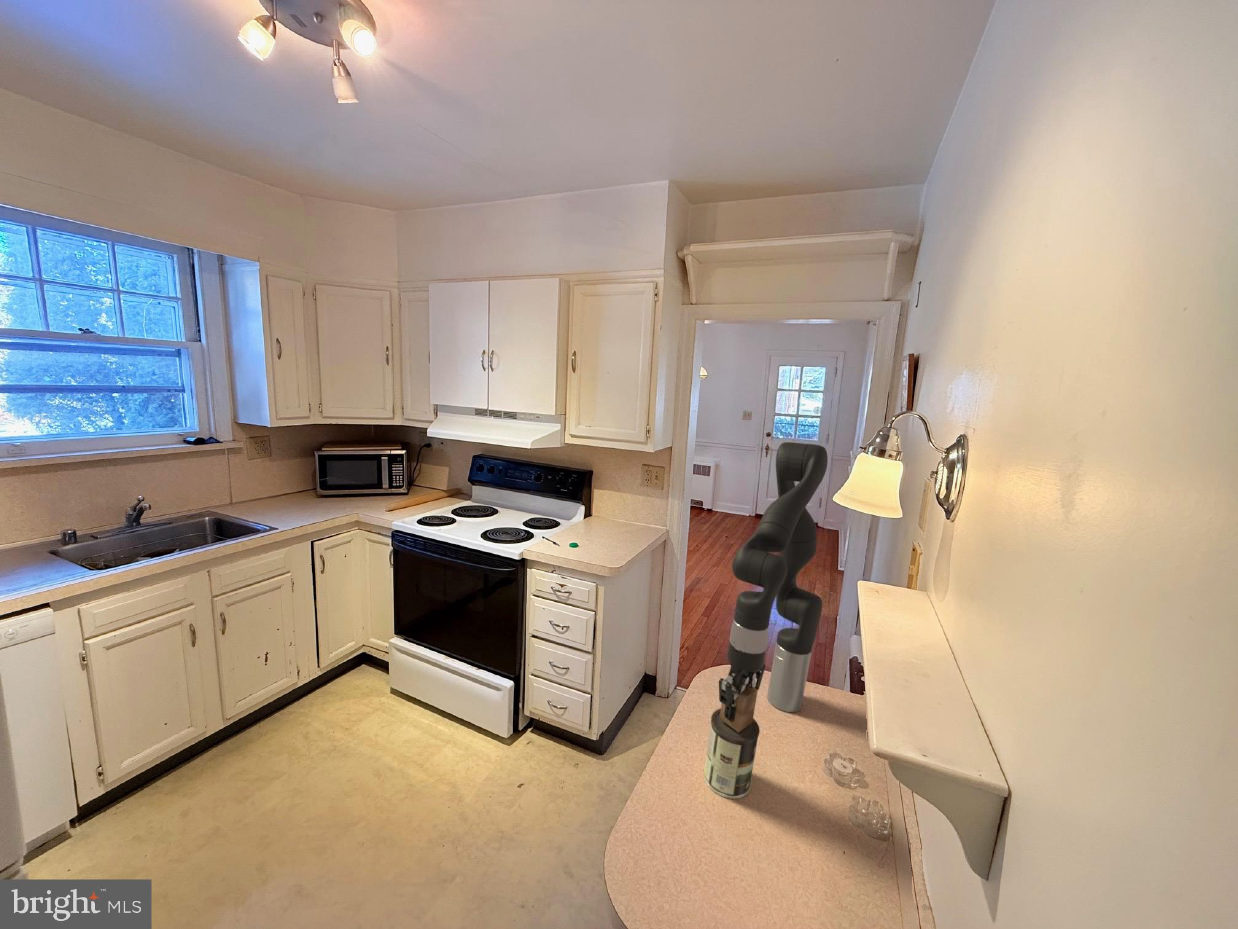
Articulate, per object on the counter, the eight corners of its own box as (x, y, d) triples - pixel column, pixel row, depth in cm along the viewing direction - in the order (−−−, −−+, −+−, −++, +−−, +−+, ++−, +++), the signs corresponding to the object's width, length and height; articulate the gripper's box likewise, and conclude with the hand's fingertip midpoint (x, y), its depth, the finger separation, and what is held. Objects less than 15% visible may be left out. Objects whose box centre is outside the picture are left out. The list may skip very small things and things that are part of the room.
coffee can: (744, 763, 113) (753, 709, 110) (755, 801, 103) (765, 743, 100) (699, 759, 113) (707, 704, 110) (706, 796, 103) (715, 738, 100)
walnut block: (733, 709, 109) (738, 677, 107) (752, 723, 105) (757, 689, 103) (719, 718, 105) (724, 685, 104) (738, 732, 102) (744, 698, 100)
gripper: (752, 625, 109) (741, 692, 112) (712, 643, 100) (701, 717, 103) (782, 640, 104) (770, 711, 107) (742, 661, 94) (730, 738, 97)
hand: (736, 713), depth 105 cm, fingers closed on walnut block, 5 cm apart
